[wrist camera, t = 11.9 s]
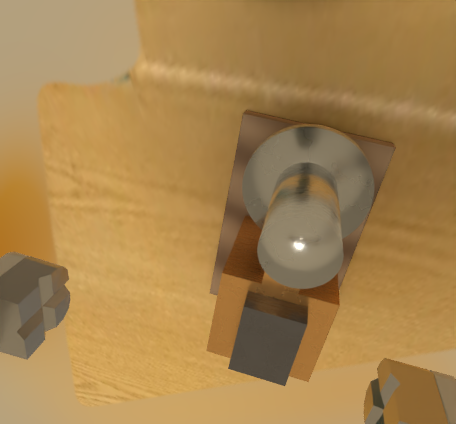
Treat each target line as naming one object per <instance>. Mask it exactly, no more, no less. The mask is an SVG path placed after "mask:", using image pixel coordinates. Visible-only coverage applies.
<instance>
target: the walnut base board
mask: <svg viewBox="0 0 456 424" xmlns="http://www.w3.org/2000/svg"><path fill="white" fill-rule="evenodd" d="M300 124H305V123H301V122H296V121H292V120H287V119H283V118H278V117H274V116H269V115H265V114H260V113H256V112H252V111H247V110H246V111H245V112H244V113H243V118H242V123H241V128H240V134H239V139H238V144H237V150H236V155H235V160H234V166H233V171H232V177H231V182H230V187H229V193H228V198H227V203H226V209H225V214H224V219H223V225H222V230H221V236H220V241H219V246H218V252H217V257H216V262H215V268H214V273H213V278H212V284H211V289H210V293H211V294H214V295H218V291H219V286H220V281H221V276H222V272H223V269H224V267H225V264H226V262H227V259H228V257H229V254H230V252H231V250H232V247H233V245H234V242H235V240H236V237H237V235H238V232H239V230H240V227H241V225H242V222H243V220H244V217H245V215H246V216H250V215H249V213H248V211H247V209H246V206H245V203H244V199H243V193H242V182H243V176H244V172H245V169H246V166H247V164H248V162H249V160H250V158H251V156H252V155H253V153H254V151H255V150H256V149H257V148H258V146H259V145H260V144H261V143H262V142H263V141H264V140H265V139H266V138H268V137H269V136H271V135H272V134H274V133H276V132H277V131H279V130H281V129H284V128H287V127H290V126H294V125H300ZM342 133H344V134H345V135H347V136H349V137H350V138H351V139H352V140H353V141H355V142H356V143H357V145H358V146H359V147H360V148H361V149H362V151H363V152H364V154H365V155H366V157H367V159H368V162H369V164H370V167H371V170H372V174H373V178H374V197H373V202H372V205H371V208H372V206H373V203H374V201H375V198H376V196H377V193H378V191H379V188H380V186H381V183H382V181H383V178H384V176H385V173H386V171H387V168H388V166H389V163H390V161H391V158H392V156H393V153H394V151H395V146H394V144H393V143H390V142H385V141H381V140H376V139H372V138H368V137H363V136H359V135H354V134H350V133H345V132H342ZM371 208H370V210H369V212H368V214H367V216H366V218H365V219H364V221H363V222H362V223H361V224H360V225H359V227H358V228H357V229H355V230H354V231H353V232H352V233H351V234H349V235H348V236H346V237H345V238H343V239H342V242H343V262H342V266H341V268H340V270H339V271H338V287H339V288H340V286H341V283H342V281H343V278H344V276H345V273H346V271H347V268H348V266H349V263H350V261H351V258H352V256H353V253H354V251H355V248H356V246H357V243H358V241H359V238H360V236H361V233H362V231H363V228H364V226H365V223H366V221H367V218H368V216H369V213H370V211H371ZM250 217H251V216H250Z"/></svg>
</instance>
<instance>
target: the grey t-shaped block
mask: <svg viewBox="0 0 456 424" xmlns="http://www.w3.org/2000/svg"><path fill="white" fill-rule="evenodd" d="M307 323H308V307H305V306H301V305H298V304H294V303H291V302H287V301H284V300H280V299H277V298H273V297H269V296H266V295H262V294H259V293H255V292H252V291H248V292H247V296H246V300H245V303H244V307H243V311H242V315H241V319H240V323H239V327H238V331H237V335H236V339H235V343H234V347H233V351H232V356H231V360H230V364H229V368H228V369H231V370H234V371H238V372H241V373H244V374H247V375H251V376H254V377H257V378H260V379H264V380H267V381H270V382H273V383H277V384H280V385H283V386H285V385H286V382H287V379H288V376H289V374H290V371H291V368H292V366H293V363H294V360H295V357H296V355H297V352H298V349H299V346H300V344H301V341H302V338H303V335H304V333H305V330H306V327H307Z"/></svg>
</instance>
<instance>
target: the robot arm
mask: <svg viewBox="0 0 456 424" xmlns="http://www.w3.org/2000/svg"><path fill="white" fill-rule="evenodd" d="M68 280H69V277H68V269H66V268H64V267H63V266H59V265H56V264H53V263H50V262H47V261H43V260H40V259H37V258H34V257H29V256H25V255H23V254H20V253H16V252H10V253H7V254H5V255H4V256H3V257H1V258H0V352H3V353H6V354H10V355H13V356H17V357H20V358H24V359H28V358H29V357H30V356H31V355H32V354H33V352H34V351H35V350H36V349H37V348H38V347H39V346H40V345H41V344H42V343H43V341H44V340H45V332H46V331H48V330H50V329H53V328H55V327H57V326H58V325H59V323H60V322H61V321H62V320H63V319H64V317H65V315H66V313H67V311H68V308H69V303H70V292H69V291H68V289H67V288H66V287H65V285H64V284H65V283H66V282H67V281H68ZM377 371H378V378H377V379H375V380H373V381H371V382H370V385H369V387H368V389H367V392H366V397H365V401H364V420H365V421H364V422H365V424H456V379H455V378H454V377H453V376H450V375H446V374H442V373H439V372H434V371H431V370H430V371H429V370H427V369H423V368H420V367H416V366H412V365H409V364H405V363H401V362H398V361H394V360H391V359H387V358H384V359H383V360H382V361H381V362H380V364H379V366H378V368H377Z"/></svg>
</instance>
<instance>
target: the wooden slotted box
mask: <svg viewBox="0 0 456 424" xmlns="http://www.w3.org/2000/svg"><path fill="white" fill-rule="evenodd" d="M242 193H243V199H244V203H245V206H246V209H247V211H248V213H249V215H250V216H251V217H250V216H246V215H245V217H244V220H243V222H242V225H241V227H240V230H239V232H238V235H237V237H236V240H235V242H234V245H233V247H232V250H231V252H230V254H229V257H228V259H227V262H226V264H225V267H224V269H223V272H222V276H221V281H220V286H219V291H218V296H217V301H216V306H215V311H214V316H213V321H212V326H211V331H210V336H209V341H208V346H207V351H209V352H212V353H215V354H219V355H222V356H225V357H228V358H231V356H232V351H233V347H234V343H235V339H236V335H237V331H238V327H239V323H240V319H241V315H242V311H243V307H244V303H245V300H246V296H247V292H248V291H252V292H255V293H259V294H262V295H266V296H269V297H273V298H277V299H280V300H284V301H287V302H291V303H294V304H298V305H301V306H305V307H308V323H307V327H306V330H305V333H304V335H303V338H302V341H301V344H300V346H299V349H298V352H297V355H296V357H295V360H294V363H293V366H292V368H291V371H290V374H289V376H291V377H294V378H297V379H300V380H304V381H307V382H308V381H309V379H310V377H311V374H312V372H313V369H314V367H315V364H316V362H317V360H318V357H319V355H320V352H321V350H322V347H323V345H324V342H325V340H326V338H327V335H328V333H329V330H330V328H331V325H332V323H333V321H334V318H335V316H336V313H337V311H338V308H339V306H340V304H339V287H338V271H339V270H340V268H341V266H342V262H343V242H342V239H343V238H345V237H346V236H348V235H349V234H351V233H352V232H353V231H354V230H355V229H357V228H358V227H359V225H360V224H361V223H362V222H363V221H364V219H365V218H366V216H367V214H368V212H369V210H370V208H371V205H372V202H373V197H374V178H373V174H372V170H371V167H370V164H369V162H368V159H367V157H366V155H365V154H364V152H363V151H362V149H361V148H360V147H359V146H358V145H357V143H356V142H355V141H353V140H352V139H351V138H350V137H349V136H347V135H345V134H344V133H342V132H341V131H338V130H336V129H334V128H331V127H328V126H324V125H318V124H300V125H294V126H290V127H287V128H284V129H281V130H279V131H277V132H276V133H274V134H272V135H271V136H269V137H268V138H266V139H265V140H264V141H263V142H262V143H261V144H260V145H259V146H258V148H257V149H256V150H255V151H254V153H253V155H252V156H251V158H250V160H249V162H248V164H247V166H246V169H245V172H244V176H243V182H242Z"/></svg>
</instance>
